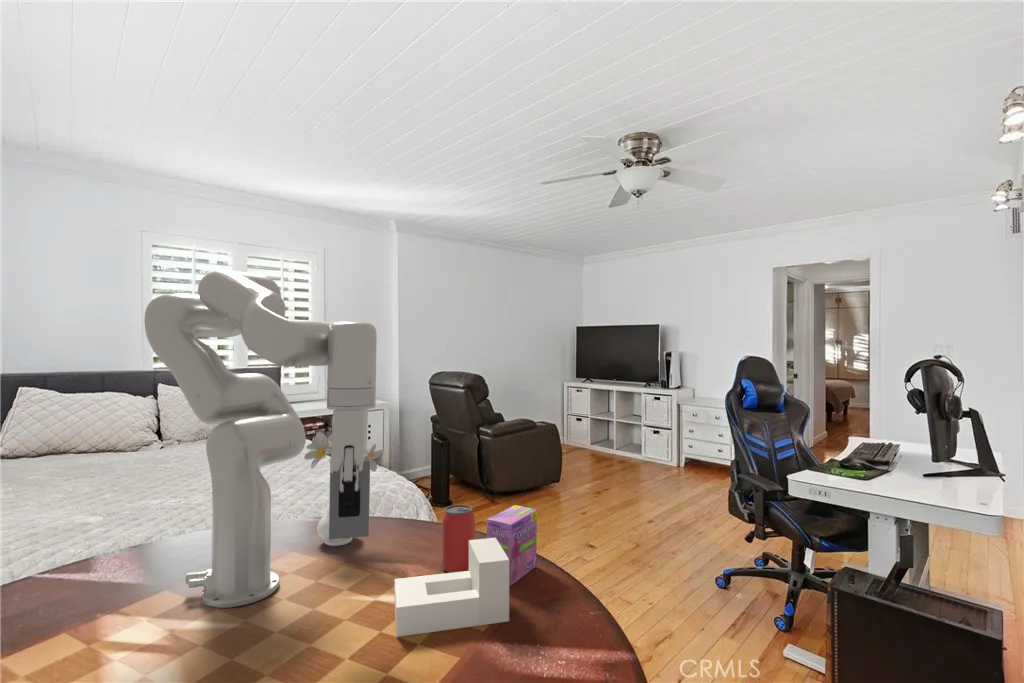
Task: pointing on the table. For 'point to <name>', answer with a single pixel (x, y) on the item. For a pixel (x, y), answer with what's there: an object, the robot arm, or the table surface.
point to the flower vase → (323, 449)
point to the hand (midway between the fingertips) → (349, 511)
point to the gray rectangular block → (360, 524)
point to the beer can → (457, 537)
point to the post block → (456, 594)
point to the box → (516, 538)
